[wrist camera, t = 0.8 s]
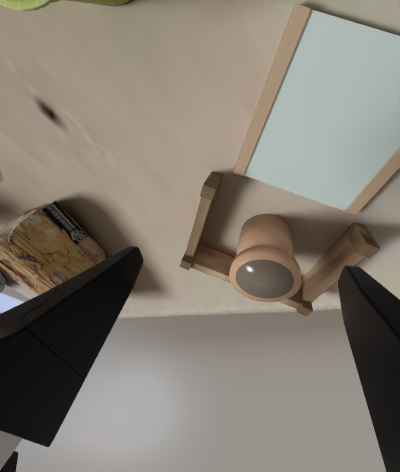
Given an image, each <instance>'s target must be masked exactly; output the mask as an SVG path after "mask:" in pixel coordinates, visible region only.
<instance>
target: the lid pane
mask: <svg viewBox="0 0 400 472" xmlns="http://www.w3.org/2000/svg"><path fill="white" fill-rule="evenodd" d="M399 168H400V36H398V35H395V34H392V33H388V32H385V31H382V30H378V29H375V28H372V27H368V26H365V25H362V24H358V23H355V22H352V21H348V20H345V19H342V18H338V17H335V16H332V15H328V14H325V13H322V12H318V11H315V10H312V9H311V8H308V7H305V6H302V5H298V4H295V5H294V8H293V11H292V13H291V16H290V19H289V22H288V24H287V27H286V30H285V32H284V35H283V38H282V41H281V43H280V46H279V49H278V52H277V54H276V57H275V60H274V62H273V65H272V68H271V71H270V73H269V76H268V79H267V81H266V84H265V87H264V90H263V92H262V95H261V98H260V101H259V103H258V106H257V109H256V111H255V114H254V117H253V120H252V122H251V125H250V128H249V130H248V133H247V136H246V139H245V141H244V144H243V147H242V150H241V152H240V155H239V158H238V160H237V163H236V166H235V169H234V171H233V172H234V173H236V174H239V175H242V176H243V175H244V176H247V177H250V178H253V179H256V180H258V181H261V182H264V183H267V184H270V185H272V186H275V187H278V188H281V189H284V190H287V191H289V192H292V193H295V194H298V195H301V196H303V197H306V198H309V199H312V200H315V201H318V202H320V203H323V204H326V205H329V206H332V207H335V208H337V209H340V210H343V211H344V212H346V213H349V214H352V215H356V214H357V213H358V212H359V211H360V210H361V209H362V208H363V207H364V206H365V205H366V203H367V202H368V201H369V200H370V199H371V198H372V197H373V196H374V195H375V194H376V193H377V192H378V191H379V189H380V188H381V187H382V186H383V185H384V184H385V183H386V182H387V181H388V180H389V179H390V178H391V176H392V175H393V174H394V173H395V172H396V171H397V170H398V169H399Z"/></svg>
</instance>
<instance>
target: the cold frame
mask: <svg viewBox="0 0 400 472" xmlns="http://www.w3.org/2000/svg"><path fill="white" fill-rule="evenodd" d="M221 179H222V175H219V174H216V173H213V172H211V174H210V175H209V177H208V178H207V180H206V181H205V183H204V184H203V187H202V191H201V195H200V196H201V201H200V204H199V208H198V211H197V215H196V218H195V222H194V225H193V229H192V232H191V236H190V239H189V243H188V247H187V250H186V252H185V254H184V256H183V258H182V261H181V264H180V267H182V268H185V269H187V270H189V269H190V267H191V268H193V269H196V270H198V271H201V272H204V273H206V274H209V275H211V276H214V277H216V278H219V279H222V280H224V281H227V282H229V283H231V282H230V278H229V272H230V267H231V263H232V261H233V259H234V257H232V256H229V255H227V254H224V253H221V252H219V251H216V250H213V249H211V248H208V247H205V246H203V245H200V243H199V242H200V239H201V236H202V233H203V230H204V227H205V224H206V221H207V218H208V215H209V212H210V209H211V206H212V203H213V200H214V197H215V194H216V192H217V189H218V187H219V185H220V182H221ZM379 250H380V247H379V246H378V244H377V243H376V241H375V240H374V238H373V237H372V235H371V234H370V232H369V231H368V229H367V228H366V227H365V226H362V225H359V224H356V223H353V224H352V225H351V227H350V228H349V229H348V230H347V231H346V233H345V234H344V235H343V236H342V237H341V238H340V239H339V240H338V242H337V243H336V244H335V245H334V246H333V247H332V248H331V249H330V250H329V251H328V252H327V253H326V254H325V255H324V256H323V257H322V258H321V259H320V260H319V261H318V263H317V264H316V265H315V266H314V267H313V268H312V269H311V270H310V271H309V272H308V273H307V274H306V275H305V276H304V277H303V278H302V284H301V287H300V289H299V290H298V292H297V293H296V294H295V295H293V296H292V297H290V298H288V299H285V300H282V301H278V302H281V303H283V304H286V305H289V306H291V307H294V308H296V309H297V312H298V313H300V314H303V315H306V316H308V315H309V314H310V313H311V312H312V311H313V309H312V302H313V301H314V300H315V299H316V298H318V297H319V296H320V295H321V294H322V293H323V292H325V291H326V290H327V289H328V288H329V287H330V286H331V285H333V284H334V283H335V282H336V281H337V280H338V279H339V277H340V275H341V272H342V270H343V267H344V266H346V265H351V266H355V265H356V264H357V263H358V262H359V261H360V260H361V259H363V258H364V257H367V258H370V257H372V256H373V255H374V254H375V253H376V252H378V251H379Z"/></svg>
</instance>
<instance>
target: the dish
mask: <svg viewBox="0 0 400 472" xmlns="http://www.w3.org/2000/svg"><path fill="white" fill-rule="evenodd" d="M5 283H6V280H5V278H4V276H3V275H2V274H1V272H0V293H1V292H2V291H3V290H4V288H5Z"/></svg>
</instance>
